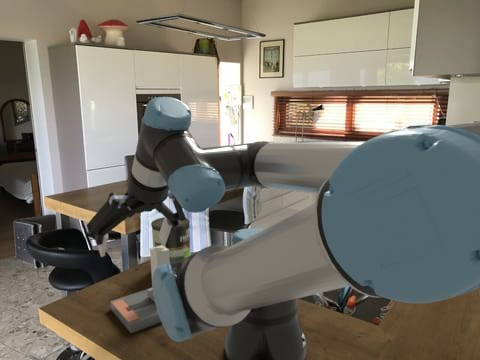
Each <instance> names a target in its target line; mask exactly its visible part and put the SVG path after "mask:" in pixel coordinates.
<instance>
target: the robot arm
mask: <svg viewBox="0 0 480 360" xmlns="http://www.w3.org/2000/svg"><path fill="white" fill-rule="evenodd" d="M192 115H193V114H192V110H191V109H190V107H189V106H188V105H187V104H185V103H184V101H181V100H179V99H178V98H174V97H171V96H170V97H169V96H157V97H154V98H152V99H151V100H149V101H148V102H147V104H146V107H145V111H144V115H143V117H142V118H141V124H140V129H139V134H138V140H137V145H136V150H135V152H134V153H135V154H134V158H133V161H132V162H133V163H132V167H131V171H130V175H129V179H128V184H127V190H126V192H125V193H124V194H123V195H117V194H116V192H110V193H109V194H108V197H107V201H105V203H104V204H103V205H102V207H100V209H99V210H98V211H96V213H95V214H94V216H93V217H92V218H91V220H89V222H88V223H87V224H86V227H87V229H86V230H87V232H88V235H89V237H91V238H92V237H94V241H95V243H96V245H97V250H98V252H99V255H100V258H103V257H105V256H106V251H107V246H108V242H109V237H110V236H109V233H110V232H111V231H112V230H114V229H115V228H116V227H118V226H119V225H120V224H121V223H122V222H124V221H125V220H126V219H128V218H132V217H134V215H136V214H141V213H144V212H152V211H154V210H156V212H158V213H159V214H161V215H163V216H164V220H163V223H162V226H161V229H160V232H159V237H160V240H161V242H162V244H166V242H167V239H168V236H169V233H170V232H171V231H173V229H174V227H177V226H178V225H179V223H178V221H179V220H181V221H184V220H185V219H186V218H187V217H186V214H185V211H187V212H189V213H193V214H196V213H203V212H206V211H207V210H208V209H209V208H213V207H215V206H216V205H217V204H218V203H219V202H220V201H221V199H222V198H223V197H224V195H225V193H226V192H229V191H233V190H237V189H243V188H251V187H253V188H254V187H256V188H265V189H275V190H280V191H281V190H282V191H289V192H296V193H303V194H311V195H316V199H315V202H314V203H313V204H311V205H309V206H307V207H305V208H303V209H301V210H299V211H297V212H295V213H292V214H291V215H289V216H287V217H285V218H283V219H281V220H280V221H277V222H276V223H274V224H272V225H269V226H267V227H265V228H255V227H253V228H252V227H251V228H249V227H248V228H242V229H239V230H236V231H235V232H234V233H233V235H232V238H231V242H232V244H231V245H223V244H212V245H209V246H206V247H204V248H202V249H200V250H198V251H197V252H195V253H193V254H190V255H191V256H189V257H187V258H184V259H181V260H178V261H175V262H171V263H170V262H167V263H166V264H164V265H161V266H159V267H157V268H156V270H155V271H154V273H153V279H152V278H151V285H153V294H154V300H155V304H156V308H157V311H158V314H159V317H160V320H161V322H160V323H161V324H162V325H161V326H162V327H163V328H164V330H165V332H166V334H167V336H168V337H169V338H170V339H171V340H172V341H174V342H183V341H186V340H192V339H193V337H196V336H198V335H200V334H202V333H205V332H206V333H207V332H208V331H212V330H215V329H221V328H226V327H229V329H228V331H227V333H226V336H225V347H224V348H225V355H226V358H227V360H306V357H307V340H306V336H305V334H304V331H303V327H302V324H301V321H300V317H299V315H298V299H300V298H304V297H308V296H314V295H317V294H321V293H325V292H331V291H335V290H338V289H343V288H348V287H350V288H351V289H353V290H354V291H357V293H358V294H362V295H364V296H367V297H371V298H385V299H388V300H390V301H396V302H399V303H406V304H429V303H436V302H439V301H444V300H449V299H452V298H455V297H459V296H462V295H465V294H468V293H471V292H472V291H475V290H477V289H479V288H480V121H473V122H465V123H457V124H451V125H439V124H422V125H421V124H419V125H409V126H407V127H405V128H398V129H393V130H390V131H387V132H384V133H381V134H380V135H378V136H375V137H373V138H370V139H368V140H366V141H315V142H314V141H310V142H309V141H308V142H303V141H301V142H298V141H297V142H275V141H265V140H263V141H255V142H249V143H241V144H239V143H238V144H232V145H231V144H230V145H221V146H220V145H219V146H208V147H200V145H199V144H198V143H197V141H196V140H195V138H194V137H193V136H192V134H191V132H190V131H189V129H190V126H191V124H192V122H191V121H192ZM168 198H169V200H171V201H172V203H173V206H174V209H175V212H173V211H172V210H171V209H170V208H169V207H168V206H167V205H166V204H165V203H164V202H165V201H166V200H167V199H168Z"/></svg>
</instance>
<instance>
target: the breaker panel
mask: <svg viewBox="0 0 480 360" xmlns="http://www.w3.org/2000/svg"><path fill="white" fill-rule="evenodd" d="M109 301H110V302H109V303H110V309H111V311H112V313H113V314H114V315H115V316H116V318H118V319H119V320H120V322H121V323H122V324H123V326H124V327H125V328H126V330H128V331H129V333H130V334H134V333H137V332H139V331H142V330H145V329H146V328H149V327H152V326H154V325H155V326H156V325H157V324H159V323H162V322H161V320H160V317H159V314H158V311H157V308H156V304H155V302H154V301H153V300H152V299H151V298H149V297H148V296H147V289H144V290H141V291H138V292H134V293H131V294H128V295H126V296H122V297H120V298H119V297H118V298H116V299H112V300H109Z"/></svg>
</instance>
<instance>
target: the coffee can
mask: <svg viewBox="0 0 480 360" xmlns="http://www.w3.org/2000/svg"><path fill="white" fill-rule="evenodd" d="M164 217H165V216H164ZM164 217H159V218H157V219H154V220H152V221H151V224H150V226H151V230H152V248H153V247H157V246H161V245H162V246H164V247H166V248H167V249H169V258H170V263H171V262H175V261H178V260H181V259H184V258H187V257H189V256H191V255H192V254H191V236H190V234H191V233H190V232H191V231H190V220H189V218H187V217H186V219H185V220H184V221H181V220H179V221H178V223H179V225H178V226H177V227H174V229H173V231H171V232H170V233H169V236H168V239H167V242H166V244H162V242H161V240H160V237H159V232H160V229H161V226H162V223H163V220H164Z"/></svg>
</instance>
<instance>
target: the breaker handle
mask: <svg viewBox="0 0 480 360" xmlns="http://www.w3.org/2000/svg"><path fill="white" fill-rule="evenodd" d="M149 253H150V254H149V256H150V269H151V272H150V273H151V280H152V279H153V273H154V271H155V270H156V268H157V267H159V266H161V265H164V264H166V263H167V262H170V258H169V249H167V248H166V247H164V246H162V245H161V246H157V247H153V246H152V247H149ZM151 285H152V284H151ZM146 290H147V296H148V297H149V298H151V299H152V300H153V301H154V302H155V300H154V294H153V285H152V286H151V287H150V288H147V289H146Z"/></svg>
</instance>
